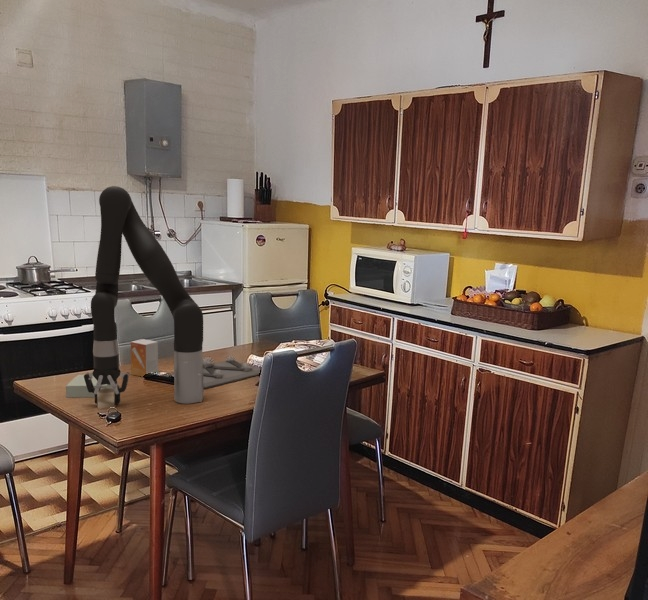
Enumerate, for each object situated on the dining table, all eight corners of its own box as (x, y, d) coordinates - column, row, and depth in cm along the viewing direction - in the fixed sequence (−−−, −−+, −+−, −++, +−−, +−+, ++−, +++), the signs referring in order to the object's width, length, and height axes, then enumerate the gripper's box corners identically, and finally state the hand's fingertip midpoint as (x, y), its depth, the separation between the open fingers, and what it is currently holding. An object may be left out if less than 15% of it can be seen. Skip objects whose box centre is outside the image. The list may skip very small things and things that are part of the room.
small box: (131, 374, 221) (130, 341, 219) (143, 371, 226) (142, 338, 224) (146, 378, 217) (145, 344, 215) (158, 374, 223) (158, 341, 221)
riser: (116, 385, 208) (115, 374, 207) (106, 397, 195) (106, 385, 194) (78, 385, 206) (77, 374, 206) (66, 397, 193) (65, 385, 193)
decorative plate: (203, 391, 205) (203, 372, 204) (168, 378, 219) (168, 360, 218) (266, 375, 227) (266, 357, 226) (231, 364, 241) (231, 347, 240)
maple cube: (117, 403, 190) (117, 388, 189) (113, 408, 185) (113, 393, 184) (101, 403, 189) (101, 388, 188) (97, 408, 184) (97, 393, 183)
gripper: (131, 350, 189) (133, 400, 191) (86, 350, 187) (88, 400, 190) (126, 356, 181) (128, 408, 184) (78, 356, 180) (81, 408, 182)
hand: (107, 404), depth 187 cm, fingers closed on maple cube, 5 cm apart
